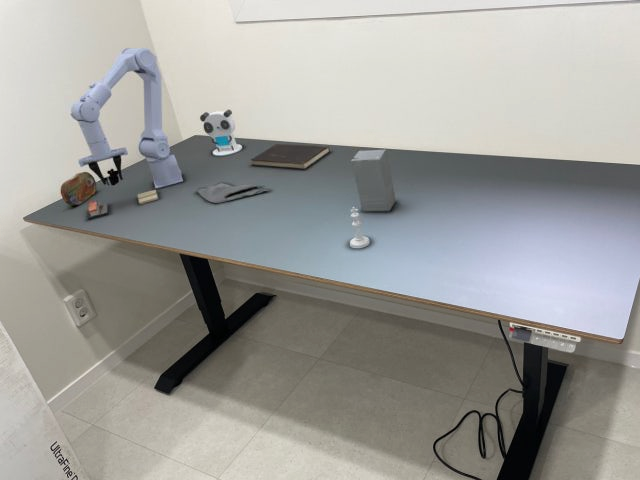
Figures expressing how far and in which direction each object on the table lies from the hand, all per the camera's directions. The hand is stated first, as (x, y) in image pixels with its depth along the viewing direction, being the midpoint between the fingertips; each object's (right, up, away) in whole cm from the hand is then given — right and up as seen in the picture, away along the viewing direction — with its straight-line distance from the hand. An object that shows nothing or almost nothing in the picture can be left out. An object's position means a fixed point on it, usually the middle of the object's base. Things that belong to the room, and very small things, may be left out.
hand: (113, 181), depth 183 cm
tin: (-16, -4, +14) cm, 22 cm away
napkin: (+9, -5, +5) cm, 12 cm away
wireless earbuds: (0, -1, +2) cm, 2 cm away
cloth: (+37, -5, -1) cm, 38 cm away
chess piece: (+80, -23, -41) cm, 93 cm away
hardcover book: (+55, +11, +18) cm, 59 cm away
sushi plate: (-5, -10, +1) cm, 11 cm away
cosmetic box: (+85, -12, -25) cm, 90 cm away
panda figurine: (+27, +18, +37) cm, 49 cm away
